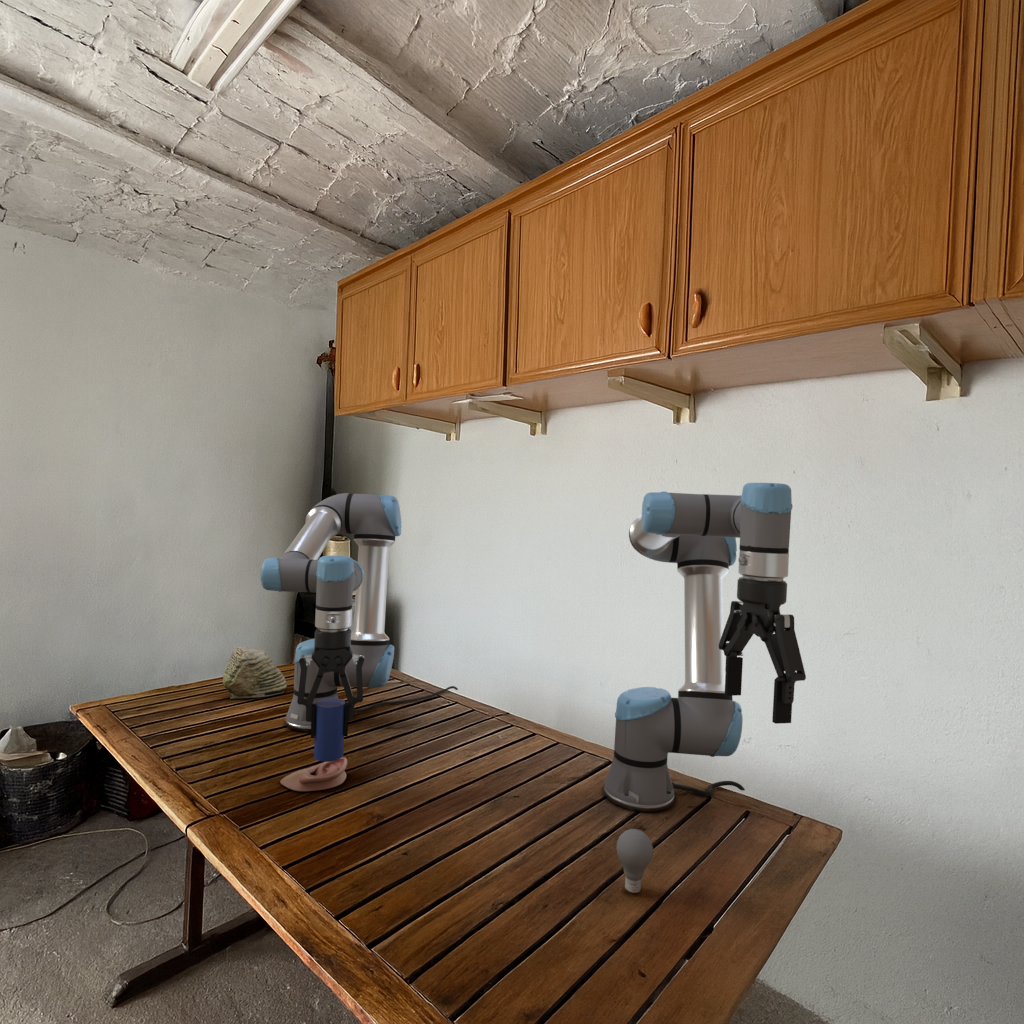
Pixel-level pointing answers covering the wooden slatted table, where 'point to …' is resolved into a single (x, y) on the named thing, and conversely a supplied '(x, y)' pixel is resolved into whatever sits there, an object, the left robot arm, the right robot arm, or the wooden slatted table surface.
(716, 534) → the right robot arm
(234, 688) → the fossil
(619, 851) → the light bulb
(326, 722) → the canister
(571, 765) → the wooden slatted table surface
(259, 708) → the wooden slatted table surface
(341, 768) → the anatomical model
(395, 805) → the wooden slatted table surface
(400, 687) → the wooden slatted table surface
